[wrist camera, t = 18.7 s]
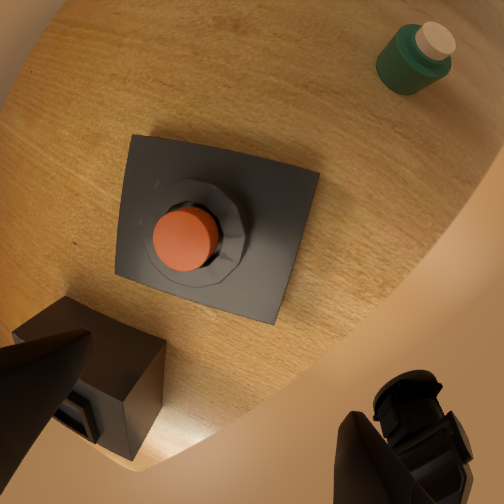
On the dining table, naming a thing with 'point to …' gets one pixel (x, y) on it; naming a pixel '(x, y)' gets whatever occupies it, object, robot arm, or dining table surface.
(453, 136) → the dining table surface
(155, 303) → the dining table surface
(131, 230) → the control
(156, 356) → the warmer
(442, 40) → the bottle
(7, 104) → the dining table surface
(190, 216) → the button
